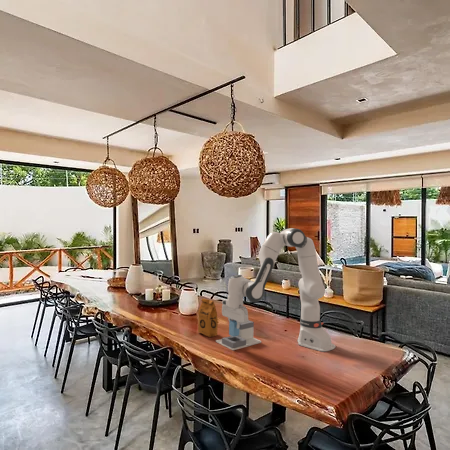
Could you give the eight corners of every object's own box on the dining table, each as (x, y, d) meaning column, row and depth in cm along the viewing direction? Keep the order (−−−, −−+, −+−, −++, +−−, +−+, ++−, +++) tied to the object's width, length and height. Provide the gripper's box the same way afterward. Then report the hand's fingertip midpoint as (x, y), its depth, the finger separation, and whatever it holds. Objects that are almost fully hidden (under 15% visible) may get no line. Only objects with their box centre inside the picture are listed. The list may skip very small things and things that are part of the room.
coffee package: (207, 338, 209) (208, 302, 209) (195, 333, 219) (196, 298, 219) (220, 335, 216) (220, 300, 216) (208, 330, 225) (209, 296, 225)
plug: (239, 335, 198) (239, 319, 198) (233, 336, 195) (234, 320, 195) (234, 333, 201) (235, 318, 201) (228, 334, 199) (229, 319, 198)
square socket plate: (261, 342, 205) (261, 324, 205) (232, 350, 191) (233, 330, 191) (243, 335, 217) (244, 317, 217) (215, 341, 204) (216, 323, 204)
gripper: (251, 306, 192) (250, 330, 192) (228, 299, 208) (227, 321, 208) (242, 307, 188) (241, 332, 188) (220, 300, 204) (219, 323, 204)
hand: (234, 326), depth 198 cm, fingers closed on plug, 4 cm apart
